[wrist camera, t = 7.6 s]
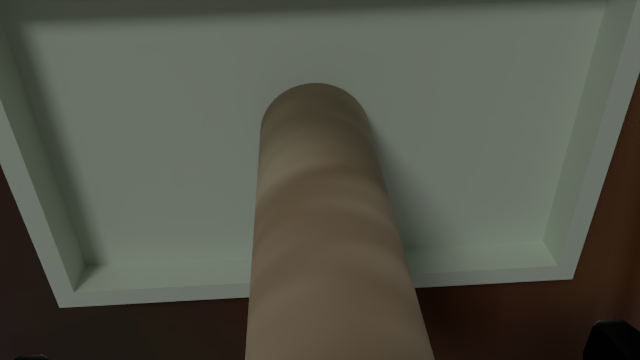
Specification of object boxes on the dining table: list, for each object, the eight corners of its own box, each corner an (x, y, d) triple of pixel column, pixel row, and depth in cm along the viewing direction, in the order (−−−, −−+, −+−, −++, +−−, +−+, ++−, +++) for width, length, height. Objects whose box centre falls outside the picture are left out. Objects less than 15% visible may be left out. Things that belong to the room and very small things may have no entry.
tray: (636, -76, 13) (682, -63, 12) (549, 242, 19) (572, 279, 17) (-38, -54, 13) (-82, -37, 11) (78, 267, 18) (59, 307, 17)
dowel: (370, 80, 14) (447, 311, 8) (366, 175, 16) (427, 431, 9) (255, 85, 14) (233, 323, 8) (264, 180, 16) (252, 442, 9)
